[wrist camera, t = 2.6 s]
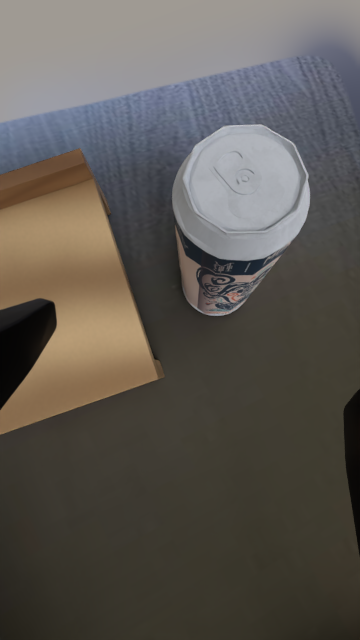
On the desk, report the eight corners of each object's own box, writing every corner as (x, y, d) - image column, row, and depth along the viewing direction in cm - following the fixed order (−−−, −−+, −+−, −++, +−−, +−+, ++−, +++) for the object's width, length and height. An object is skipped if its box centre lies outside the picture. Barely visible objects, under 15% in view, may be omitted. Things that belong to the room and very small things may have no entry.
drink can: (208, 330, 21) (230, 278, 9) (168, 277, 21) (140, 164, 10) (262, 291, 21) (354, 190, 9) (222, 240, 22) (258, 86, 10)
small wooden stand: (164, 377, 20) (155, 379, 15) (26, 425, 20) (-36, 446, 15) (106, 200, 23) (80, 147, 17) (-19, 243, 22) (-86, 203, 17)
